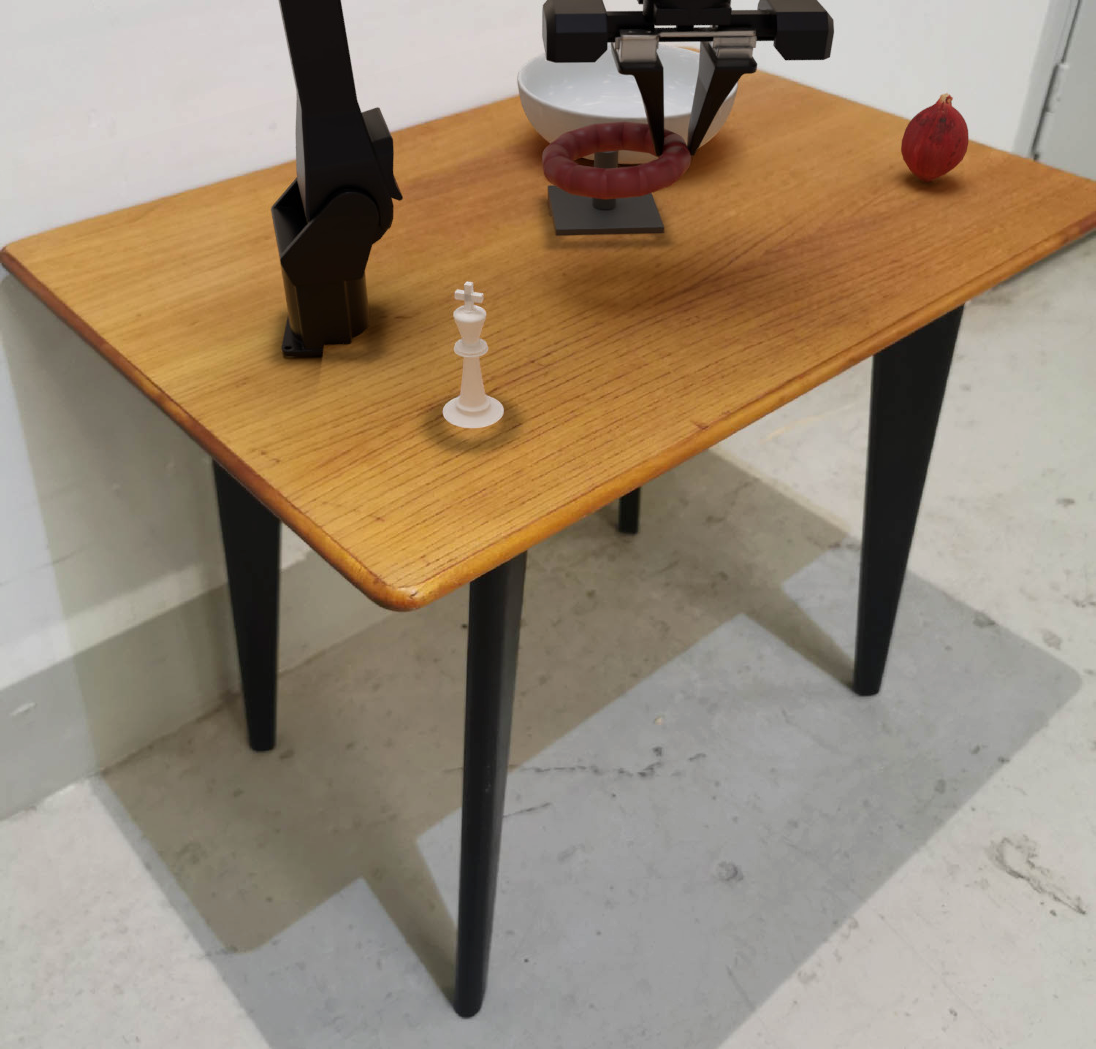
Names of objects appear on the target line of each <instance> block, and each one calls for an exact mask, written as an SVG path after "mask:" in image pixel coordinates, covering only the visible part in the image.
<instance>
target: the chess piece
mask: <svg viewBox="0 0 1096 1049" xmlns="http://www.w3.org/2000/svg"><path fill="white" fill-rule="evenodd" d="M453 293H454V300H457V301H463V302H464V304H463V305H461V306H459V307H457V308H456V309H455V310H454V311H453V314H452V316H453V320H454V323H455V324H456V326H457V329H458V332H459V335H460V339H458V340H457V341H456V342H455V343H454V347H453V352H454V354H456V355H457V356H459V357H461V358H463V360H462V373H461V383H460V392H459V395H457V396H456V397H454V398H452V399H451V400H449V401H447V402H446V403H445V405H444V406H443V408H442V414H443V415H442V416H443V417H444V419H445V421H447V422H448V423H449V424H451V425H453V426H455V427H458V428H463V429H480V428H485V427H488V426H489V427H490V426H491V425H493V424H495V423H497V422H498V421H500V420H501V419H502V417H503V416H504V413H505V408H504V406H503V404H502V403H501V402H500V401H499V400H498V399H496V398H495V397H492V396H489V395H488V394H486V391H485V386H484V380H483V374H482V368H481V360H480V357H482V356H484V355H486V354H487V353H488V352H489V346H488V343H487V341H486V340H485V339H482V338H480V337H481V334H482V331H483V327H484V324H485V322H486V319H487V312H486V310H485V308H483V307H482V306H479V305H476V304H482V303H483V302H484V300H485V299H484V293H483V292H477V291H474V282H473V281H465V283H464V284H463V289H458V288H457V289H456V290H455V291H454V292H453ZM475 303H476V304H475Z"/></svg>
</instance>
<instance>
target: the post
mask: <svg viewBox="0 0 1096 1049" xmlns="http://www.w3.org/2000/svg"><path fill="white" fill-rule="evenodd" d="M618 154H619V151H608V152H597V153H594V160H593V167H597V168H604V169H609V168H619V164H618ZM546 199H547V206H548V211H549V216H550V217H551V218H552V223H553V228H554V233H555V236H591V235H593V236H594V235H595V236H596V235H634V234H635V235H637V234H664V233H665V226H664V223H663V220H662V217H661V215H660V212H659V208H658V207H657V203H656V201H655V198H654V195H653V192H652V193H650V194H647V195H644V196H640V197H629V198H617V199H598V198H591V197H584V196H577V195H572V194H569V193H567V192H566V191H564V190H562V189H560V188H558V187H557V186H555V185H553V184H551V185H550V184H549V185H547V198H546Z"/></svg>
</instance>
